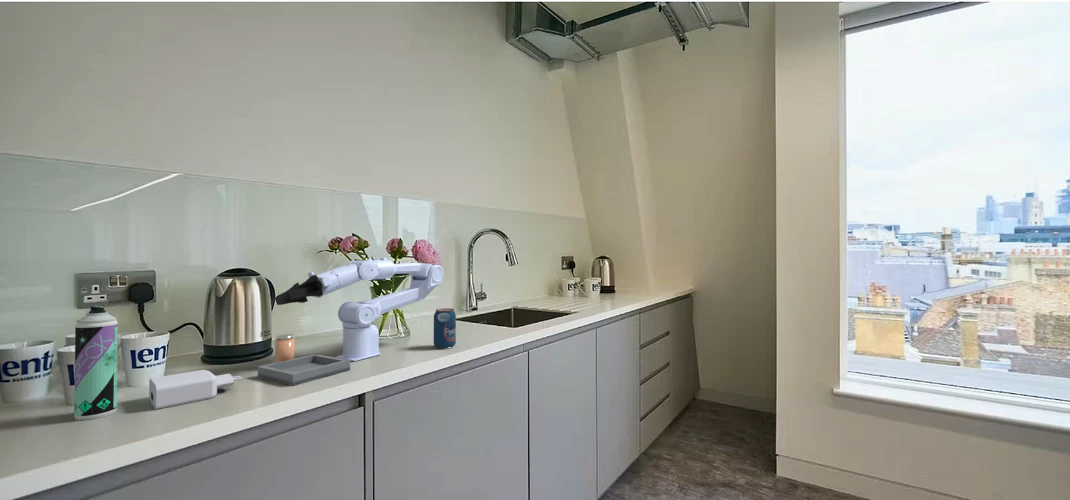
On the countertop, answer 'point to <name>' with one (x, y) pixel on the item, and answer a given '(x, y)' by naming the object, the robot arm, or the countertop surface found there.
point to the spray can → (95, 365)
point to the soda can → (444, 328)
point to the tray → (303, 369)
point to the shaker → (284, 347)
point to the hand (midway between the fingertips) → (282, 298)
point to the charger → (186, 387)
